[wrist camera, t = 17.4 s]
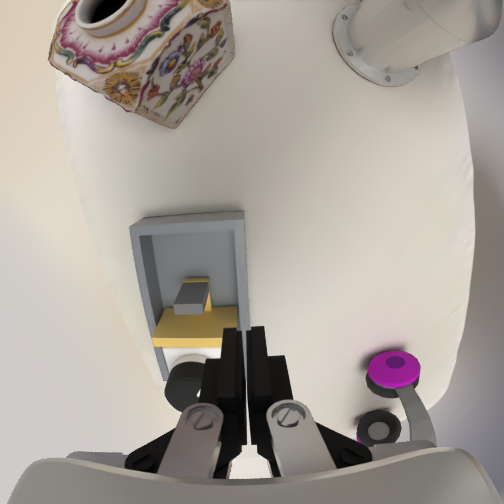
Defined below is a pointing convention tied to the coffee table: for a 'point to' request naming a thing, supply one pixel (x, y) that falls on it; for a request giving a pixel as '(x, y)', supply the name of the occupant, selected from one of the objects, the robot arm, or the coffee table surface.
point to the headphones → (393, 386)
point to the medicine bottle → (186, 373)
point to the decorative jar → (145, 51)
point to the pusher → (194, 318)
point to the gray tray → (191, 264)
